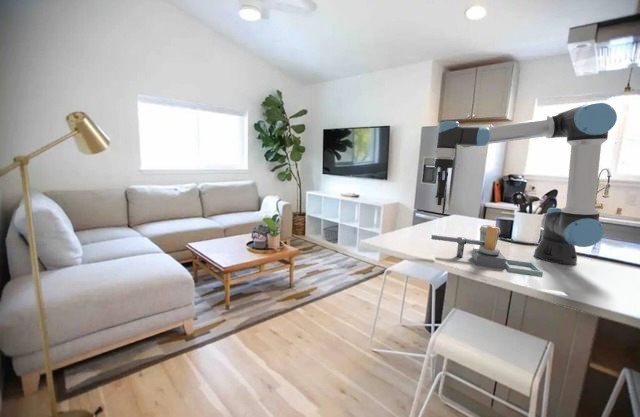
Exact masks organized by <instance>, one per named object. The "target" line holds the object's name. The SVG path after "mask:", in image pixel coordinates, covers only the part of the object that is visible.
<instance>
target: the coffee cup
mask: <svg viewBox="0 0 640 417" xmlns="http://www.w3.org/2000/svg"><path fill="white" fill-rule="evenodd" d="M487 226H491V225H490V224H489V225H487V224H483V225H481V226H480V227H479V241H485V238H486V232H487ZM497 227H498V226H497ZM500 234H501V228H500V227H498V232H497V239H496V245H495V248H497V243H498V240H499V236H500ZM480 246H483V245H479V247H480Z"/></svg>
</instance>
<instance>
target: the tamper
mask: <svg viewBox="0 0 640 417" xmlns="http://www.w3.org/2000/svg"><path fill="white" fill-rule="evenodd" d="M497 232H498V226H495V225H490V226H487V232H486V238H485V245H484V246H480V245H479V247H478V249H479V251H480V252H481V253H482V255H490V256H495V255H499V252H500V253H501V250H500V248H497V247H496V248H495V245H496V246H497V244H496V239H497Z"/></svg>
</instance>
